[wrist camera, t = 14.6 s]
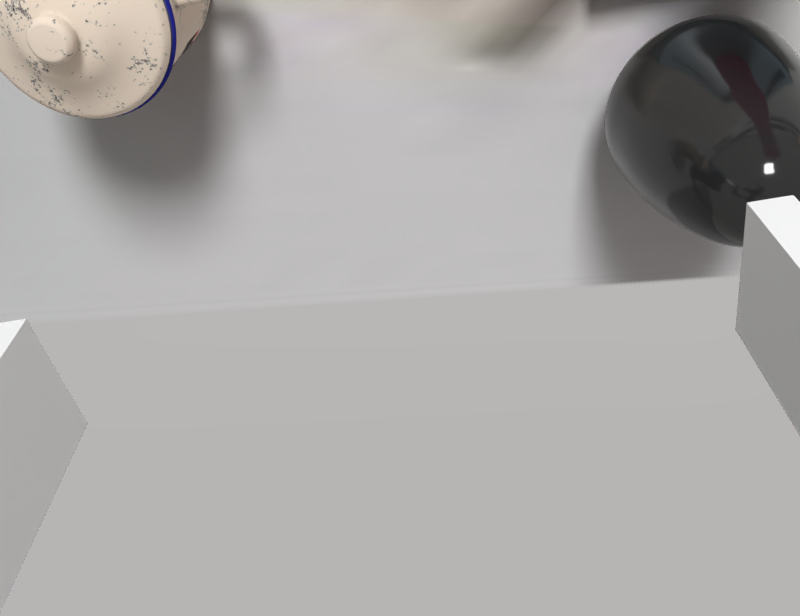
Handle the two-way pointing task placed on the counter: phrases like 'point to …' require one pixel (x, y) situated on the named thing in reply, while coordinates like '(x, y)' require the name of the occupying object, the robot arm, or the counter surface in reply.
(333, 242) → the counter surface
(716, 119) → the black rounded piece
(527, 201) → the counter surface
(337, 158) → the counter surface
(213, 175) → the counter surface
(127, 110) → the teacup with lid
